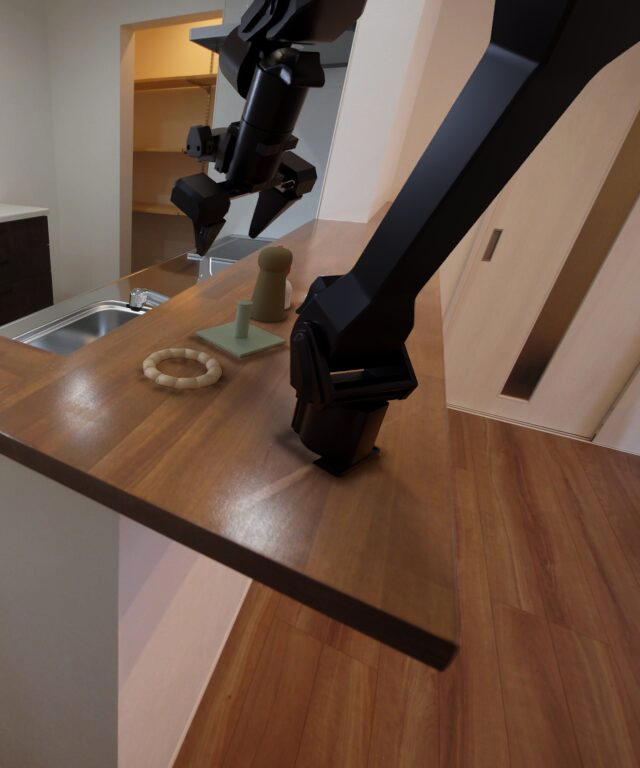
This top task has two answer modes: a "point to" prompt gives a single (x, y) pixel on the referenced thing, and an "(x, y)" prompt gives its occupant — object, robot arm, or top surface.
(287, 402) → the top surface
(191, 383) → the ring
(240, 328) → the green peg base
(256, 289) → the olive pepper mill
